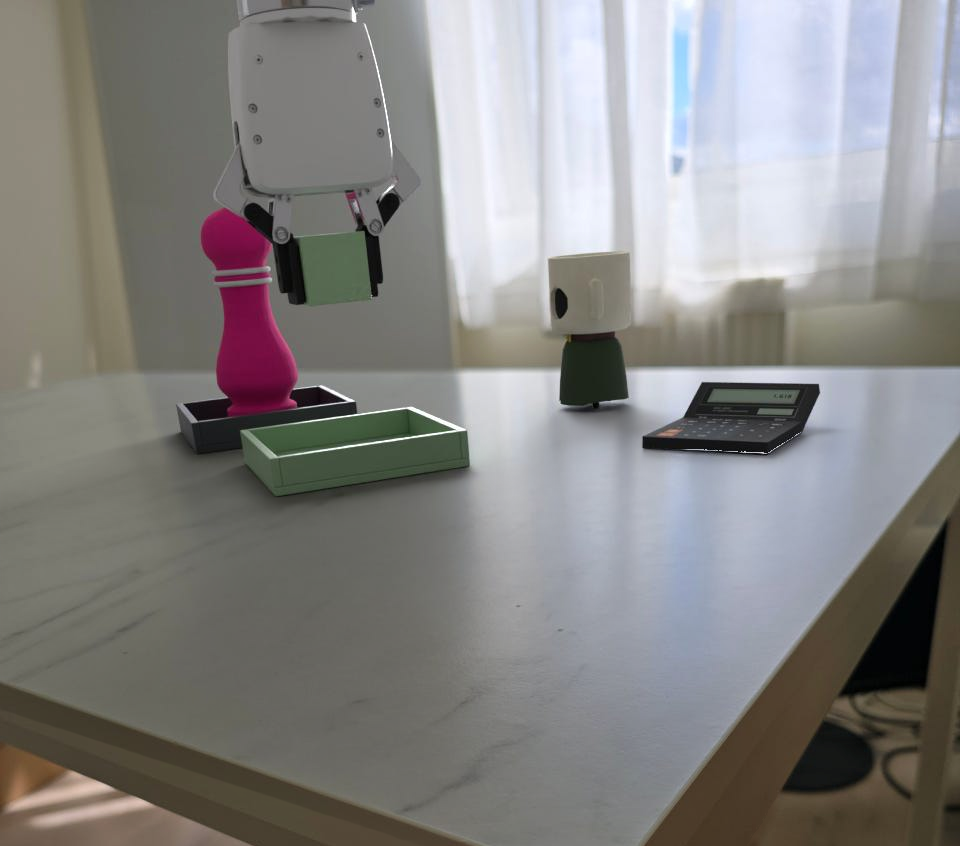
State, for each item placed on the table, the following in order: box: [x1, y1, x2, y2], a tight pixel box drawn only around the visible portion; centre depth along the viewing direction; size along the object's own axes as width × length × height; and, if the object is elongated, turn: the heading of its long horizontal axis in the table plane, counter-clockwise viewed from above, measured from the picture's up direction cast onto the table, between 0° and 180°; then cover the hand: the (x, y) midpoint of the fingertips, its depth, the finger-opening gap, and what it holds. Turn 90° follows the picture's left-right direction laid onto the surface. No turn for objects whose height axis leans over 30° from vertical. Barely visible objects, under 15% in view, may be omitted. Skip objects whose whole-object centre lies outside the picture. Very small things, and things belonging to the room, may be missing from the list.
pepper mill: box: [200, 207, 299, 417], centre depth 90 cm, size 7×7×20 cm
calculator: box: [641, 381, 821, 453], centre depth 76 cm, size 9×12×3 cm
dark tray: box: [175, 384, 358, 455], centre depth 93 cm, size 14×13×3 cm
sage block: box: [293, 231, 373, 307], centre depth 72 cm, size 4×4×4 cm
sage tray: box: [240, 406, 471, 497], centre depth 77 cm, size 14×13×3 cm
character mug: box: [547, 250, 632, 410], centre depth 90 cm, size 11×7×13 cm, turn 1°
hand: (333, 297), depth 73 cm, fingers closed on sage block, 4 cm apart
